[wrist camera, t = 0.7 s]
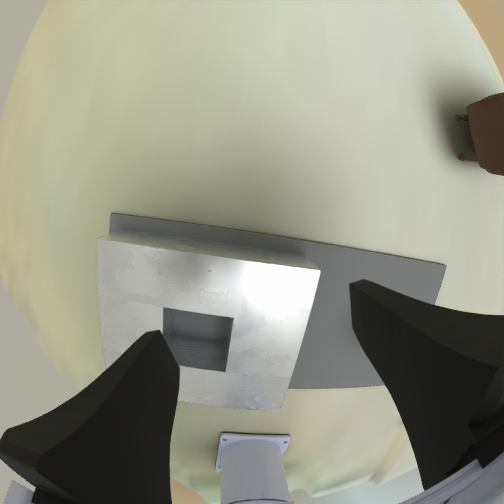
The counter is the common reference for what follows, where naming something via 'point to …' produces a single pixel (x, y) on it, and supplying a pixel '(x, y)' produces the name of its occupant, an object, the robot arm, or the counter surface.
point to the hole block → (208, 311)
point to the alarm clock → (487, 133)
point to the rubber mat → (324, 304)
